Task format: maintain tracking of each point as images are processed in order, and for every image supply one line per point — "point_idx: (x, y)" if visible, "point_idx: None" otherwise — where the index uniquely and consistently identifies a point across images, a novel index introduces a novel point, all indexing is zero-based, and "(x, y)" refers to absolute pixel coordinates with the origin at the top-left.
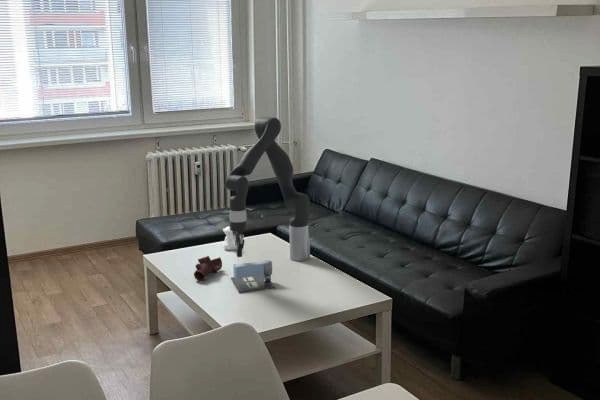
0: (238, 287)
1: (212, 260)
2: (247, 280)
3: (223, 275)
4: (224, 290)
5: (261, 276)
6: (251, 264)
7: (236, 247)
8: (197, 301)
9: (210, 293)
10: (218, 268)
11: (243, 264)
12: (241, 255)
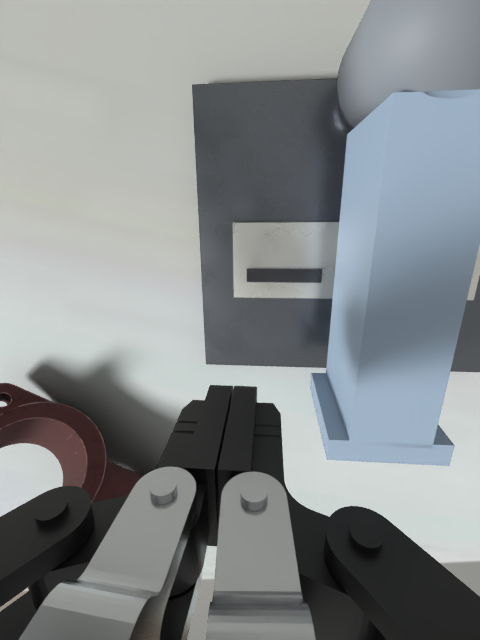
0: None
1: None
2: (323, 277)
3: (121, 382)
4: None
5: (262, 139)
6: (448, 281)
7: (201, 578)
8: (464, 561)
9: (387, 495)
10: (80, 428)
11: (391, 371)
12: (276, 410)
